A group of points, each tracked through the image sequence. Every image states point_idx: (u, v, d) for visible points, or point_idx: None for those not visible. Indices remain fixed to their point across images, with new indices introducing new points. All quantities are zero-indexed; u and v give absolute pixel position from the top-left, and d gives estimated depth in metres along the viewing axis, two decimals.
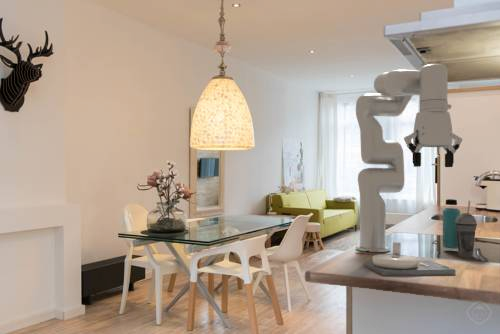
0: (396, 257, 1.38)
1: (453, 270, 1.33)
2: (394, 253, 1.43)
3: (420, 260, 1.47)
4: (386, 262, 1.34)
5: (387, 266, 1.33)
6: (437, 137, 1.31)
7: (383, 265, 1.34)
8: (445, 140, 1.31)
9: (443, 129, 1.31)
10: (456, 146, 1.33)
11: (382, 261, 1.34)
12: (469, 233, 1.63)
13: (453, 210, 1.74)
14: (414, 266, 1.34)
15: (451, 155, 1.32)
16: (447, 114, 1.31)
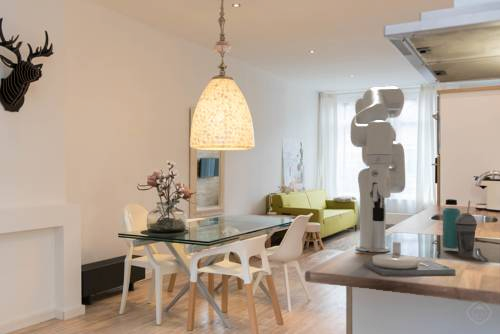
0: (396, 257, 1.38)
1: (453, 270, 1.33)
2: (394, 253, 1.43)
3: (420, 260, 1.47)
4: (386, 262, 1.34)
5: (387, 266, 1.33)
6: None
7: (383, 265, 1.34)
8: None
9: None
10: None
11: (382, 261, 1.34)
12: (469, 233, 1.63)
13: (453, 210, 1.74)
14: (414, 266, 1.34)
15: None
16: (369, 167, 1.40)
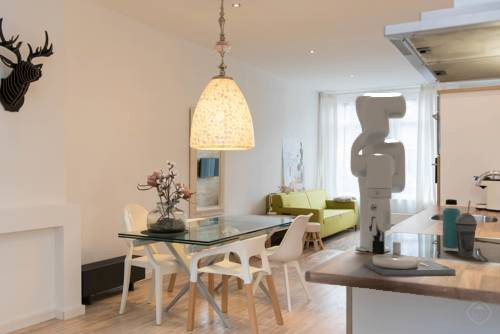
0: (396, 257, 1.38)
1: (453, 270, 1.33)
2: (394, 253, 1.43)
3: (420, 260, 1.47)
4: (386, 262, 1.34)
5: (387, 266, 1.33)
6: None
7: (383, 265, 1.34)
8: None
9: None
10: None
11: (382, 261, 1.34)
12: (469, 233, 1.63)
13: (453, 210, 1.74)
14: (414, 266, 1.34)
15: None
16: (368, 201, 1.40)
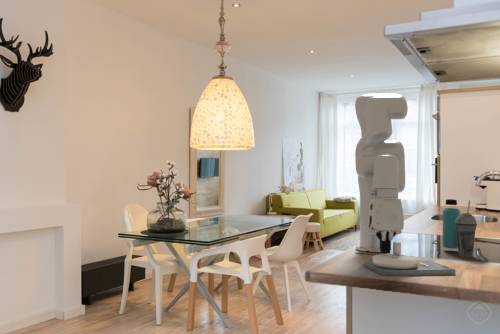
0: (396, 257, 1.38)
1: (453, 270, 1.33)
2: (394, 253, 1.43)
3: (420, 260, 1.47)
4: (386, 262, 1.34)
5: (387, 266, 1.33)
6: None
7: (383, 265, 1.34)
8: None
9: None
10: None
11: (382, 261, 1.35)
12: (469, 233, 1.63)
13: (453, 210, 1.74)
14: (414, 266, 1.34)
15: None
16: None
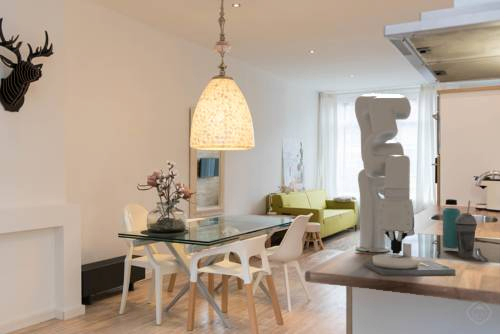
0: (394, 257, 1.38)
1: (453, 270, 1.33)
2: (403, 254, 1.41)
3: (420, 260, 1.47)
4: (375, 260, 1.37)
5: (375, 263, 1.37)
6: None
7: (373, 262, 1.38)
8: None
9: None
10: None
11: (373, 258, 1.39)
12: (469, 233, 1.63)
13: (453, 210, 1.74)
14: (401, 267, 1.32)
15: None
16: None
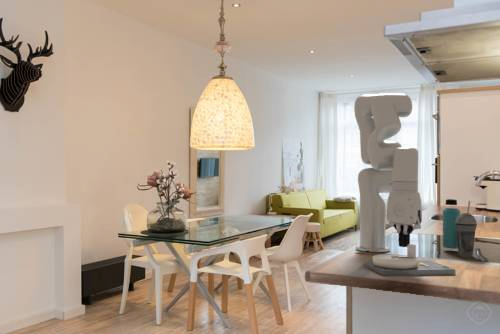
0: (392, 257, 1.38)
1: (453, 270, 1.33)
2: None
3: (420, 260, 1.47)
4: None
5: None
6: None
7: None
8: None
9: None
10: None
11: None
12: (469, 233, 1.63)
13: (453, 210, 1.74)
14: (390, 266, 1.33)
15: None
16: None
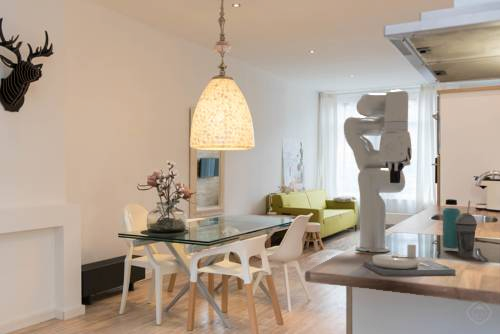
0: (392, 257, 1.38)
1: (453, 270, 1.33)
2: None
3: (420, 260, 1.47)
4: None
5: None
6: None
7: None
8: None
9: None
10: None
11: None
12: (469, 233, 1.63)
13: (453, 210, 1.74)
14: (390, 266, 1.33)
15: None
16: None
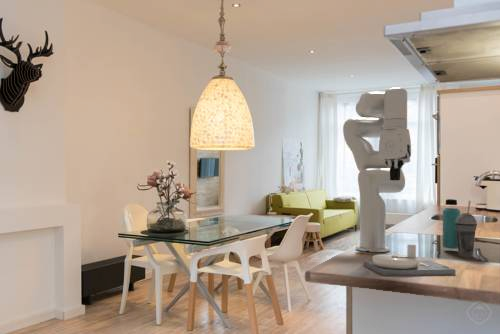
0: (392, 257, 1.38)
1: (453, 270, 1.33)
2: None
3: (420, 260, 1.47)
4: None
5: None
6: None
7: None
8: None
9: None
10: None
11: None
12: (469, 233, 1.63)
13: (453, 210, 1.74)
14: (390, 266, 1.33)
15: None
16: None
